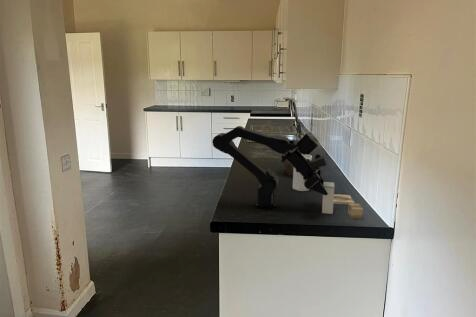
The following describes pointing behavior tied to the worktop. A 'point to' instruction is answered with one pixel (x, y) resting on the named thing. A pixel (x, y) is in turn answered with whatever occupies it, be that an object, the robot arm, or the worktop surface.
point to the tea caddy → (328, 198)
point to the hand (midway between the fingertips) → (326, 190)
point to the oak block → (355, 211)
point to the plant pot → (289, 165)
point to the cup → (300, 178)
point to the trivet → (343, 199)
